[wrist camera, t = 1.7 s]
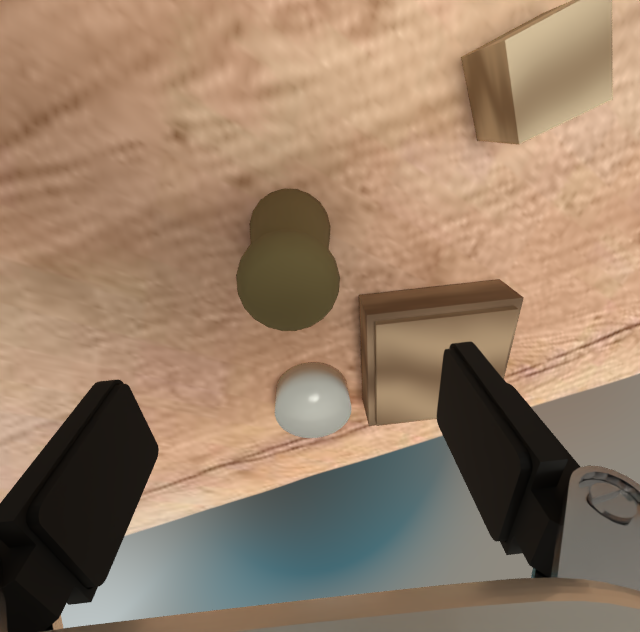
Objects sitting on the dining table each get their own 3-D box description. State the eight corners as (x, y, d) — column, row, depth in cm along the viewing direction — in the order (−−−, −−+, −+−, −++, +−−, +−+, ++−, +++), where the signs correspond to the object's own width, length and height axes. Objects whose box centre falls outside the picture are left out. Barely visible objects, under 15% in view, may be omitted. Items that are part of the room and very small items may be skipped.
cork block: (460, 57, 21) (504, 40, 16) (542, 13, 20) (611, -17, 16) (476, 140, 23) (519, 144, 19) (550, 104, 22) (612, 99, 18)
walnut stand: (358, 295, 28) (368, 319, 25) (499, 279, 28) (528, 301, 25) (362, 399, 34) (370, 430, 31) (478, 386, 34) (499, 415, 31)
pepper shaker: (346, 232, 25) (378, 297, 16) (290, 283, 27) (288, 369, 18) (290, 169, 23) (287, 202, 14) (232, 229, 25) (194, 296, 15)
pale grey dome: (270, 365, 32) (269, 387, 29) (344, 357, 32) (349, 378, 29) (281, 418, 35) (280, 441, 32) (348, 410, 35) (352, 433, 33)
